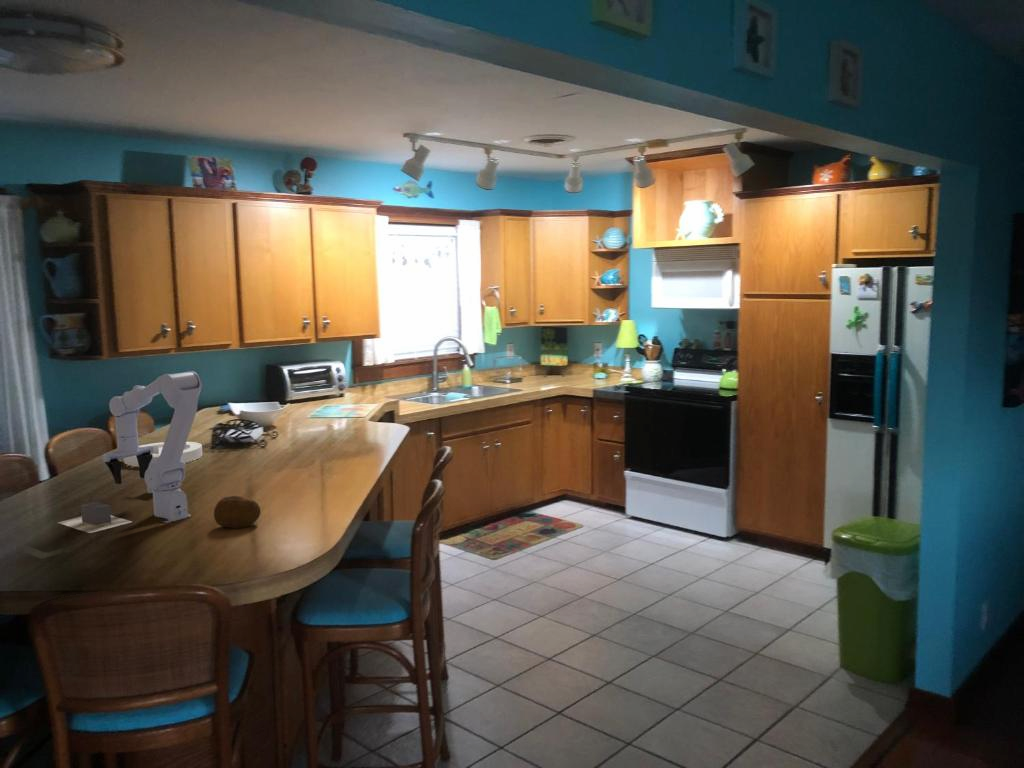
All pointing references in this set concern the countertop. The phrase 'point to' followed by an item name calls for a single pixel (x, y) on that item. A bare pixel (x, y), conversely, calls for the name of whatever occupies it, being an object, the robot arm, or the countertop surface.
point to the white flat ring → (189, 452)
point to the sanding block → (96, 514)
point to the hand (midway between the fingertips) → (130, 480)
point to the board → (87, 528)
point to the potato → (236, 512)
